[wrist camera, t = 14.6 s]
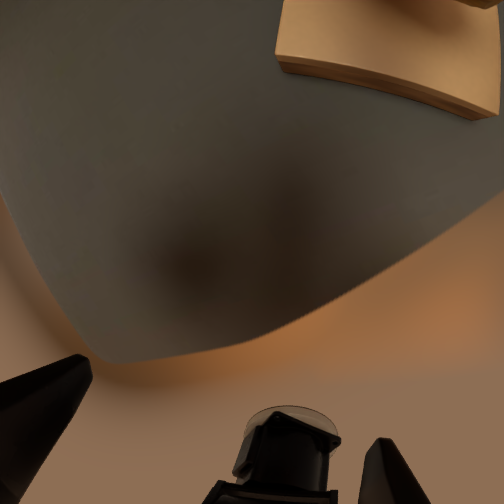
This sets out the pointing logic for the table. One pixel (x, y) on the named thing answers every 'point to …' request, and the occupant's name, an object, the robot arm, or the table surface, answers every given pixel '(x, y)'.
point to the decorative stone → (480, 3)
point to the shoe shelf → (398, 49)
